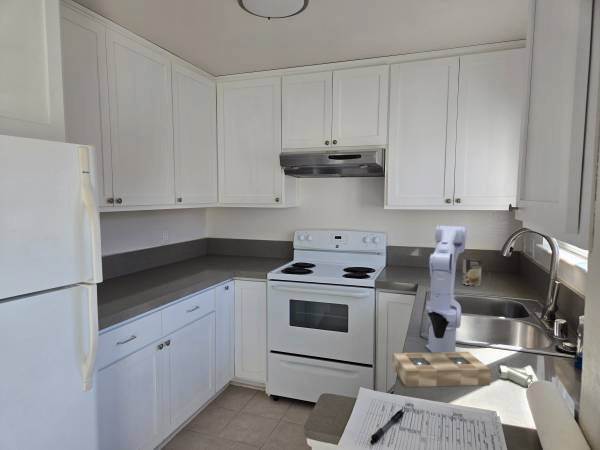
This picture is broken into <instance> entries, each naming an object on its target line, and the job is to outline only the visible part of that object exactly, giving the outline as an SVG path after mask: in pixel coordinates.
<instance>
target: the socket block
mask: <svg viewBox="0 0 600 450" xmlns="http://www.w3.org/2000/svg"><path fill="white" fill-rule="evenodd" d="M416 358H418V359H423V360H425V361H427V365H414V364H413V363H412V360H413V359H416ZM452 358H461V359H464V360H466V361H467V364H454V363H453V362H452V361H451V359H452ZM391 368H392V370H394V372H395V373H396V375H397V377H398V378H399V379H400V381H402V383H403V385H404V386H405V388H417V387H419V388H420V387H421V388H423V387H457V386H458V387H459V386H460V387H461V386H462V387H463V386H490V385H491V372H492V371H491V368H489V367H488V366H487V365H486V364H485V363H483V362H482V361H480V360H479V359H478V358H477V357H475V356H474V355H473V354H472V353H471V352H469V351H456V352H431V351H430V352H393V353H392V366H391Z"/></svg>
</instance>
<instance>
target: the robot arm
mask: <svg viewBox="0 0 600 450" xmlns="http://www.w3.org/2000/svg"><path fill="white" fill-rule="evenodd" d="M434 234H435V235H434V240H435V245H436V246H435V249H434V252H433V253H430V256H429V263H428V264H429V265H428V266H429V277H430V296H429V300H426V306H425V309H426V310H427V311H428V313H427V315H428V323H429V324H430V326H429V329H428V344H426V345H425V347H426V348H427V349H428V350H429V351H430V352H457V351H456V343H457V342H456V338H457V337H456V336H457V329H459V328H460V327H461V322H462V306H461V304H460V302H458V301H457V300H456V299H455V298H454V292H455V281H456V269H457V260H458V257H459V254H461V253H464V251H465V249H466V243H467V242H466V241H467V227H466V226H465V225H464V226H459V225H457V226H456V225H440V224H437V226H436V227H435V233H434Z"/></svg>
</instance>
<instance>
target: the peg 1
mask: <svg viewBox="0 0 600 450" xmlns="http://www.w3.org/2000/svg"><path fill="white" fill-rule="evenodd" d="M412 363H413V364H414V365H427V361H425V360H423V359H418V358H416V359H413V360H412Z"/></svg>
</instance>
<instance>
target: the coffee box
mask: <svg viewBox="0 0 600 450" xmlns="http://www.w3.org/2000/svg"><path fill="white" fill-rule="evenodd" d="M482 263H483V260H481V259H478V258H463V261H462V277H461V278H462V279H461V284H462V283H463V284H465V285H482V284H481V283H482V267H483V265H482ZM463 284H462V285H463ZM465 285H464V286H465Z"/></svg>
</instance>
